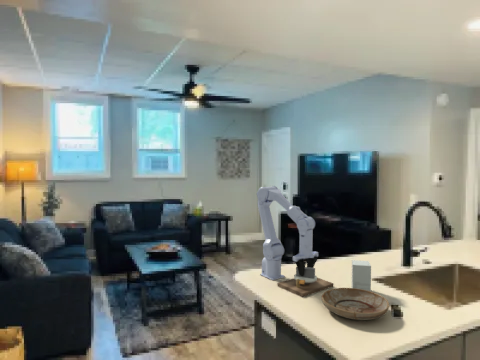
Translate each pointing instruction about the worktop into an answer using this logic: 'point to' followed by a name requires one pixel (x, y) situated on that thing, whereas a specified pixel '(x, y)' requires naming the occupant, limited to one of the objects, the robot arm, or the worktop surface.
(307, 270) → the flange disc
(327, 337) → the worktop surface
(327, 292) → the ceramic bowl
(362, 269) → the supplement box
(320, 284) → the walnut base
